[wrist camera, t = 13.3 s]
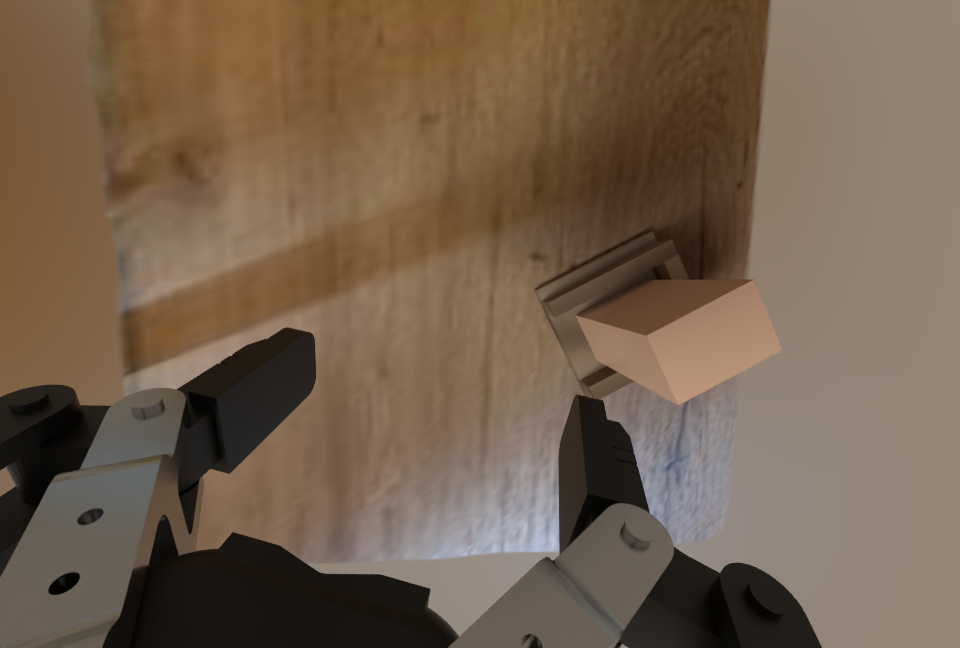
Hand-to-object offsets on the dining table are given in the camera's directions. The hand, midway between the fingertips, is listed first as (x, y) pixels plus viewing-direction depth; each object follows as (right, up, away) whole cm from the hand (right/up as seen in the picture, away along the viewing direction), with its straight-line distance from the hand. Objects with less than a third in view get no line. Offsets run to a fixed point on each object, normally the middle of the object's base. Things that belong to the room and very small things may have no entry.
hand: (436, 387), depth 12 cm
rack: (+12, +2, +20) cm, 23 cm away
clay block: (+12, +2, +19) cm, 22 cm away
